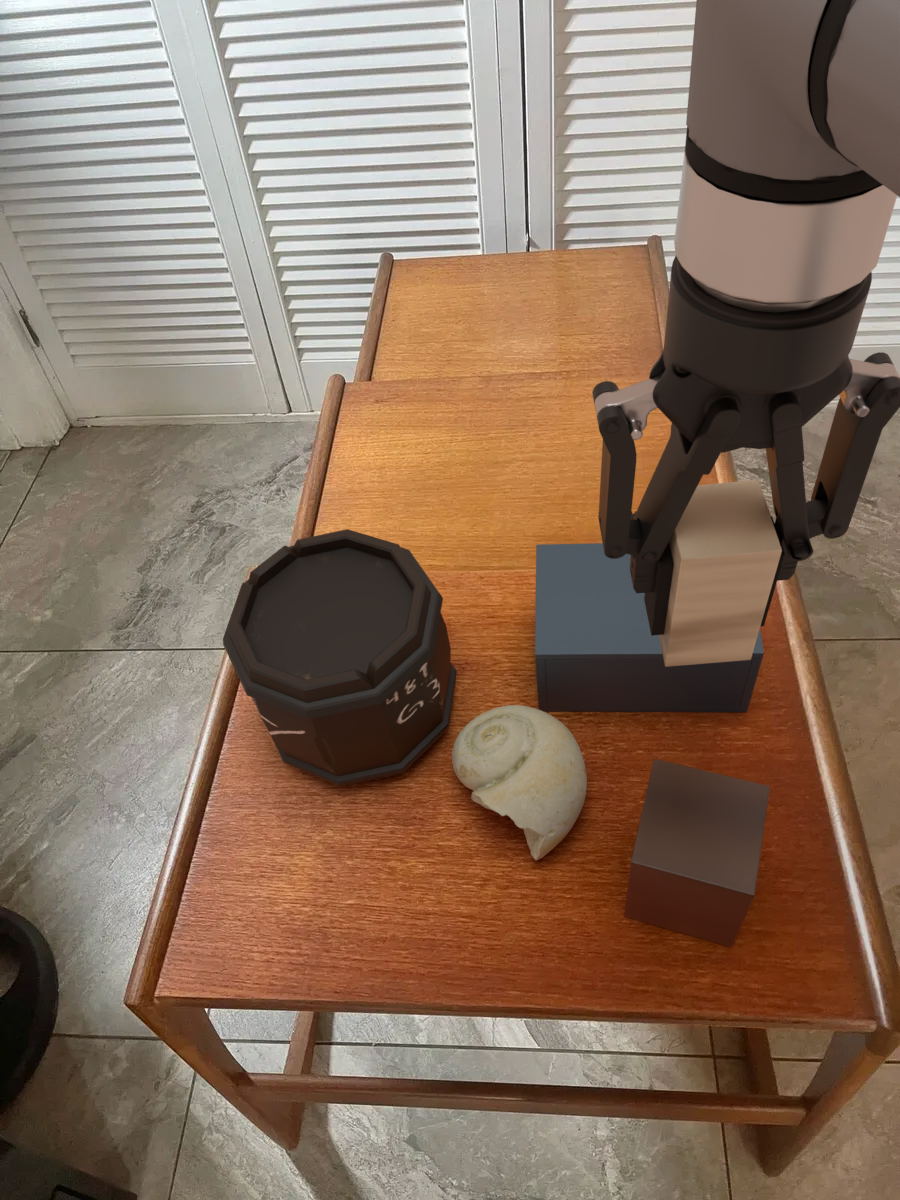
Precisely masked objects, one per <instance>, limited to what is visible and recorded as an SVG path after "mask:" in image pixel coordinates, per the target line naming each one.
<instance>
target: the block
mask: <svg viewBox="0 0 900 1200" xmlns="http://www.w3.org/2000/svg"><path fill="white" fill-rule="evenodd" d="M771 516H772V515H771V512H770V510H769V506H768V504H767V500H766V497H765V494H764V491H763V489H762V485H761V483H760V480H759V479H750V480H740V481H739V480H738V481H729V482H720V483H707V484H698V486H697V488H696V490H695V492H694V494H693V496H692V497H691V499H690V501H689V503H688V505H687V507H686V509H685V511H684V513H683V515H682V517H681V519H680V521H679V523H678V525H677V527H676V529H675V531H674V533H673V534H672V536H671V538H670V540H669V545H670V549H671V553H672V558H673V562H674V568H673V575H672V582H671V589H670V596H669V603H668V610H667V617H666V624H665V631H664V635H659V639H660V644H661V649H662V654H663V658H664V663H665V666H666V667H668V666H680V665H693V664H705V663H717V662H730V661H742V660H751V657H752V654H753V650H754V647H755V643H756V640H757V636H758V633H759V629H760V630H761V627H762V626H761V622H762V619H763V615H764V612H765V608H766V605H767V601H768V598H769V594H770V591H771V587H772V584H773V580H774V577H775V573H776V570H777V566H778V563H779V559H780V556H781V552H782V549H781V546H780V543H779V540H778V537H777V534H776V531H775V528H774V525H773V521H772V518H771ZM760 626H761V627H760Z"/></svg>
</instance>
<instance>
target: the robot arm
mask: <svg viewBox="0 0 900 1200" xmlns="http://www.w3.org/2000/svg"><path fill="white" fill-rule="evenodd" d="M691 49H692V51H691V63H690V74H689V85H688V86H689V87H688V97H687V110H686V120H685V121H686V122H685V124H686V134H685V143H684V145H685V146H684V153H683V161H682V171H681V179H680V189H679V197H678V204H677V205H678V206H677V214H676V222H675V223H676V224H675V232H674V241H673V243H674V252H675V253H674V254H675V256H674V258H673V260H672V263H671V269H670V279H669V288H668V289H669V290H668V300H667V310H666V320H665V330H664V342H663V349H662V351H661V354H660V356H659V357H658V359H657V360H656V361H655V363H654V364H653V365H652V367H651V370H650V371H649V376H648V379H645V380H642V381H639V382H637V383H634V384H631V385H629V386H626V387H623V388H621V389H620V388H619V386H618V384H617V383H615V382H613V381H611V380H605V381H601V382H599V383H597V384H596V385H595V386H594V387H593V388H592V389H593V390H592V392H591V394H592V399H593V405H594V409H595V415H596V416H595V417H596V420H597V427H598V431H599V434H600V436H601V437H602V448H601V464H600V465H601V466H600V481H599V499H598V500H599V501H598V502H599V503H598V516H597V517H598V525H599V530H600V536H601V543H603V548H604V553H605V556H607V557H608V558H611V559H617V558H621V557H623V556H624V555H625V554H630V555H631V559H630V573H631V578H632V583H633V588H634V590H635V592H636V593H645V595H644V601H645V606H646V611H647V616H648V621H649V626H650V631H651V636H653V635H664V631H665V624H666V617H667V610H668V603H669V596H670V589H671V582H672V575H673V568H674V562H673V558H672V553H671V549H670V545H669V540H670V538H671V536H672V534H673V533H674V531H675V529H676V527H677V525H678V523H679V521H680V519H681V517H682V515H683V513H684V511H685V509H686V507H687V505H688V503H689V501H690V499H691V497H692V496H693V494H694V492H695V490H696V488H697V486H698V485H700V482H701V480H702V478H703V476H708V475H710V474H711V472H712V470H713V468H714V467H715V465H716V463H717V462H718V459H719V457H720V455H721V453H722V454H723V453H727V452H731V451H734V450H738V449H742V448H745V449H755V450H763V449H765V453H766V462H767V468H768V475H769V484H770V491H771V499H772V507H773V513H774V516H775V520H774V517H773V515H771V518H772V521H773V525H774V528H775V531H776V534H777V537H778V540H779V543H780V546H781V549H782V552H781V556H780V559H779V563H778V566H777V570H776V573H775V577H774V580H773V584H772V587H771V591H770V594H769V598H768V601H767V605H766V608H765V612H764V615H763V619H762V622H761V626H760V628H761V627H765V624H766V620H767V617H768V614H769V610H770V606H771V603H772V601H773V597H774V593H775V590H776V586H777V583H778V582H779V581H789V580H791V578H792V577H793V576H794V575H795V573H796V569H797V566H798V562H802V561H805V560H808V559H809V558H811V557H812V556H813V554H814V548H813V546H812V542H811V539H812V538H815V537H818V536H821V535H823V536H824V538H826V539H831V540H833V539H837V538H840V537H842V536H844V535H845V534H846V533H847V532H848V530H849V527H850V525H851V522H852V520H853V516H854V513H855V510H856V507H857V504H858V501H859V499H860V495H861V494H862V493H861V492H862V490H863V487H864V484H865V481H866V478H867V475H868V473H869V470H870V466H871V464H872V461H873V458H874V456H875V452H876V449H877V446H878V443H879V440H880V438H881V435H882V432H883V429H884V428H885V427H886V425H887V424H888V423H889V422H890V420H891V419H892V418H893V416H894V415H895V414H896V413H897V412H898V411H899V409H900V374H899V372H898V370H897V368H896V367H895V365H894V362H893V360H892V359H891V356H890V355H889V354H888V353H886V352H884V351H883V352H882V351H881V352H876V353H875V352H874V353H872V354H871V355H869V356H867V358H865V359H864V360H858V359H853V358H850V357H849V355H850V354H851V351H852V349H853V346H854V344H855V340H856V336H857V332H858V330H859V326H860V323H861V320H862V316H863V312H864V309H865V306H866V303H867V299H868V296H869V293H870V289H871V286H872V280H873V273H872V271H873V270H875V268H877V265H878V263H879V259H880V256H881V252H882V249H883V246H884V242H885V239H886V236H887V232H888V229H889V225H890V222H891V218H892V214H893V212H894V208H895V204H896V201H897V198H898V197H899V198H900V0H696V1H695V13H694V26H693V38H692V48H691ZM838 396H839V399H838V402H837V404H836V407H835V412H834V415H833V419H832V422H831V426H830V429H829V433H828V436H827V440H826V443H825V447H824V451H823V454H822V458H821V460H820V465H819V468H818V472H817V476H816V478H815V482H814V485H813V488H812V492H811V495H810V500H809V501H808V500H807V496H806V486H805V476H804V475H805V474H804V464H803V463H804V461H805V448H804V438H803V427H804V426H805V425H806V424H807V423H809V421H811V420H812V419H813V418H814V417H815V416H816V415H818V414H819V413H820V412H821V411H822V410H823V409H825V407H827V406H828V405H829V404H830V403H832V401H834V400H835V399H836V398H837V397H838ZM656 409H658V410H659V411H660V412H661V413H662V414H663V415H664V417H666V418H667V419H668V420H669V421H670V422H671V425H670V435H669V439H668V441H667V442H666V445H665V447H664V449H663V451H662V454H661V456H660V459H659V461H658V463H657V464H656V467H655V469H654V472H653V474H652V476H651V478H650V480H649V482H648V484H647V487H646V489H645V491H644V494H643V496H642V499H641V500H640V502H639V504H638V507H637V509H636V511H634V513H633V511H632V510H633V499H634V490H635V479H636V469H637V449H636V443H635V441H639V440H641V438H643V435H644V433H643V431H645V429H646V427H647V425H648V417H649V415H650V414H651V412H653V411H654V410H656Z"/></svg>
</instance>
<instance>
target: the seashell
mask: <svg viewBox="0 0 900 1200" xmlns="http://www.w3.org/2000/svg"><path fill="white" fill-rule="evenodd" d="M451 765H452V769H453V771H454V774H455V776H456V777H457V778H458V780H459V782H460V783H461V784H462V785H463V786H464V787H466V788H467V789H470V790H471V791H472V792H471V797H470V799H471V800H472V801H473V802H474V803H475V804H478V805H480V806H482V807H483V808H485V809H487V810H490V811H493V812H495V813H497V814H499V815H500V816H501V817H505V816H508V817H509V818H510V819H511V821H513V823H514V825H515V826H516V827H518V828H519V829H521V830H523V834H524V836H525V838H526V839H525V840H526V844H527V846H528V849H529V850H530V856H531V857H532V858H533V859H534V861H538V860H540V859H542V858H544V857H545V856H546V855H547V854H549V853H550V852H551V851H552V850H553V849H554V848H556V846H558V844H560V842H562V841H563V840H564V839H565V838H566V836H567V835H568V834H569V832H570V831H571V830H572V829H573V827H574V825H575V823H576V822H577V820H578V818H579V815H580V813H581V812H582V809H583V806H584V804H585V801H586V797H587V789H588V774H587V768H586V763H585V759H584V755H583V753H582V751H581V747H580V745H579V744H578V741H577V740H576V738H575V737H574V735H573V733H572V732H571V730H569V728H568V727H567V725H565V724H564V723H563V722H562V721H560V720H559V719H557V718H556V717H555V716H553V715H552V714H550V713H549V712H548V713H547V712H544V711H541V710H539V709H538V708H535V707H531V706H527V705H521V704H520V705H519V704H508V705H502V706H498V707H494V708H491V709H488V710H487V711H484V712H483V713H480V714H479V715H477V716H476V717H474V718H473V719H472V720H470V721H469V722H467V724H466V725H465V726H464V727H463V728H462V729H461V730H460V732H459V733H458V735H457V736H456V739H455V741H454V742H453V747H452V751H451Z"/></svg>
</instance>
